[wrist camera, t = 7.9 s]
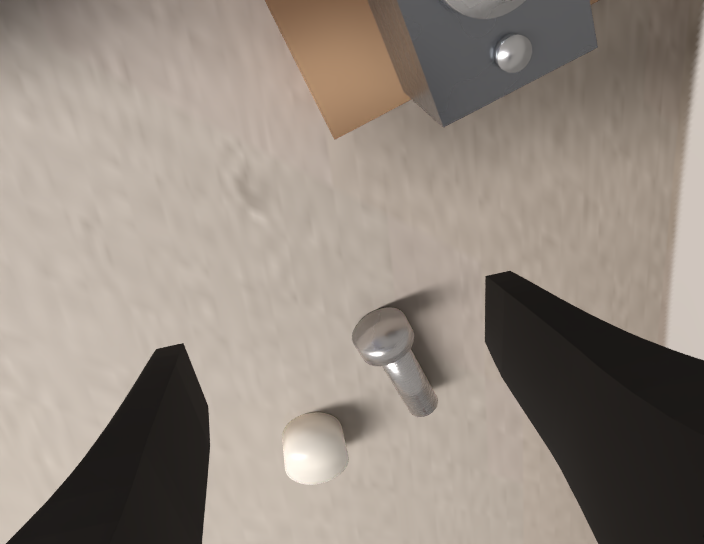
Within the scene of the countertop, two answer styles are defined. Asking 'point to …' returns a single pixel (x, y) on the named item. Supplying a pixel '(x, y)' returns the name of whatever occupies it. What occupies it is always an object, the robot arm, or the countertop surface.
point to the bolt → (395, 357)
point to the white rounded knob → (314, 448)
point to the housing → (478, 47)
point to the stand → (341, 59)
